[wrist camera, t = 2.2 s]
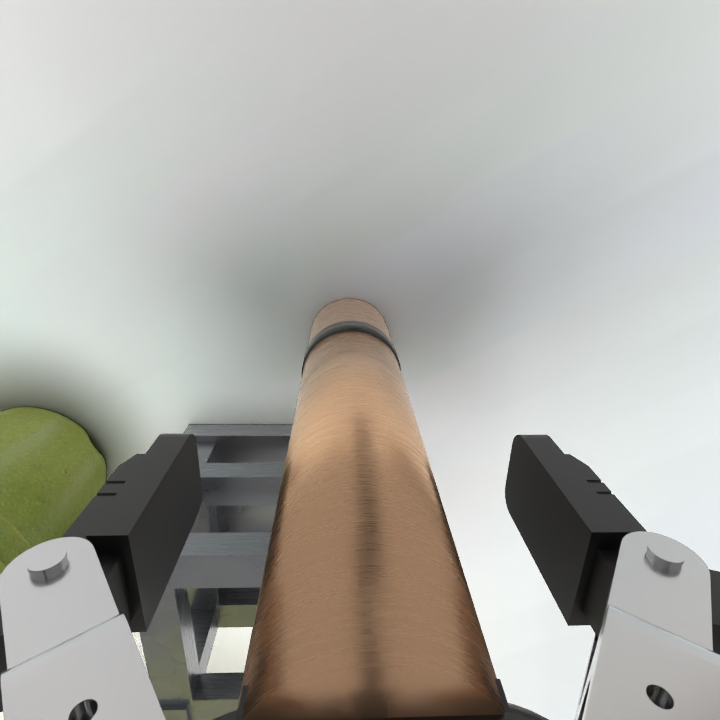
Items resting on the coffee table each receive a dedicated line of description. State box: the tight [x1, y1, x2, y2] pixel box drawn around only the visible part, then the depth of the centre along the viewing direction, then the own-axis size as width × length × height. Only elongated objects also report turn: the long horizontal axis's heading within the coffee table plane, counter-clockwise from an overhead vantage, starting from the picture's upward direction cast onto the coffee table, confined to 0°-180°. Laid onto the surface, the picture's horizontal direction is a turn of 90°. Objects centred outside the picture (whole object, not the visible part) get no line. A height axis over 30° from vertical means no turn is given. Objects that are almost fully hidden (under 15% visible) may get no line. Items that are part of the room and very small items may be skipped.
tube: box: [237, 298, 505, 720], centre depth 13 cm, size 4×4×16 cm
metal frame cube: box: [140, 425, 293, 720], centre depth 20 cm, size 9×9×8 cm
